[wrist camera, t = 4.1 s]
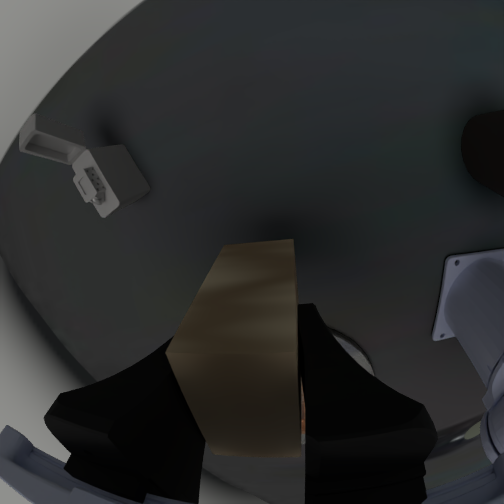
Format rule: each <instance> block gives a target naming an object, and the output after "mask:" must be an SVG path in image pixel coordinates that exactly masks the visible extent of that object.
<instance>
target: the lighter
mask: <svg viewBox="0 0 504 504" xmlns="http://www.w3.org/2000/svg"><path fill="white" fill-rule="evenodd" d="M19 149H20V151H21V152H25V153H28V154H32V155H36V156H40V157H43V158H47V159H51V160H54V161H58V162H61V163H65V164H68V165H70V164H73V166H72V167H73V169H74V171H75V173H76V176H75V177H74V178H73V181H74V183H75V185H76V186H77V188H78V190H79V192H80V193H81V195H82V197H83V198H84V200H85V202H86V203H87V202H89V201H90V202H92V203H93V204H94V206H95V207H96V209H97V211H98V212H99V214H100V216H101V217H103V218H105V217H107V216H109V215H111V214H113V213H115V212H117V211H119V210H120V209H122V208H124V207H126V206H128V205H130V204H132V203H134V202H136V201H138V200H139V199H140V198H141V197H143V196H144V195H145V194H147V193H148V192H149V191H150V186H149V185H148V183H147V181H146V180H145V178H144V177H143V175H142V173H141V172H140V170H139V169H138V167H137V165H136V164H135V162H134V160H133V159H132V157H131V155H130V154H129V152H128V150H127V149H126V147H125V145H122V144H121V145H113V146H106V147H99V148H92V149H86V147H85V140H84V134H83V131H80V130H78V129H75V128H72V127H70V126H67V125H65V124H62V123H60V122H57V121H54V120H52V119H49V118H46V117H44V116H41V115H38V114H33V115H31V116H30V118H29V119H28V121H27V122H26V124H25V125H24V126H23V128H22V129H21V131H20V140H19Z"/></svg>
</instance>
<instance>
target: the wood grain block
mask: <svg viewBox="0 0 504 504" xmlns="http://www.w3.org/2000/svg"><path fill="white" fill-rule="evenodd" d="M298 304H299V302H298V288H297V275H296V263H295V252H294V241H293V239H287V240H276V241H264V242H253V243H242V244H231V245H224V246H223V248H222V250H221V252H220V253H219V255H218V257H217V259H216V261H215V262H214V264H213V266H212V268H211V269H210V271H209V273H208V275H207V277H206V278H205V280H204V282H203V284H202V286H201V287H200V289H199V291H198V293H197V295H196V297H195V298H194V300H193V302H192V304H191V306H190V307H189V309H188V311H187V313H186V315H185V317H184V319H183V320H182V322H181V324H180V326H179V328H178V330H177V332H176V333H175V335H174V337H173V339H172V341H171V343H170V345H169V347H168V348H167V350H166V352H165V353H166V355H167V358H168V360H169V363H170V365H171V368H172V370H173V372H174V375H175V377H176V379H177V382H178V384H179V386H180V388H181V391H182V393H183V395H184V397H185V399H186V402H187V404H188V406H189V408H190V410H191V412H192V414H193V416H194V418H195V420H196V423H197V425H198V427H199V429H200V431H201V432H202V434H203V436H204V438H205V440H206V442H207V444H208V446H209V448H210V450H211V451H212V453H213V454H216V455H228V456H244V457H301V435H302V379H301V367H300V349H299V333H298V315H297V305H298Z"/></svg>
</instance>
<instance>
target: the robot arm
mask: <svg viewBox="0 0 504 504" xmlns="http://www.w3.org/2000/svg"><path fill="white" fill-rule="evenodd" d="M456 260H457V263H455V261H456ZM297 315H298V333H299V349H300V367H301V379H302V387H303V394H304V402H305V504H504V248H503V249H496V250H489V251H482V252H475V253H467V254H460V255H452V256H449V257H448V258H447V259H446V261H445V267H444V275H443V281H442V288H441V293H440V299H439V304H438V309H437V314H436V319H435V324H434V328H433V332H432V338H433V340H434V341H438V340H442V339H447V338H451V337H455V336H456V338H457V339H458V341H459V343H460V344H461V346H462V347H463V349H464V350H465V352H466V354H467V355H468V357H469V359H470V360H471V362H472V364H473V365H474V367H475V369H476V370H477V372H478V374H479V376H480V377H481V379H482V381H483V383H484V385H485V386H486V388H487V393H486V394H485V396H484V397H483V398H482V401H483V403H484V405H485V407H486V409H487V411H486V412H485V413H484V415H483V417H482V420H481V425H480V434H481V441H482V445H483V449H484V451H485V453H486V455H487V457H488V458H489V460H490V461H491V462H492V463H493V464H491V465H489V466H487V467H485V468H483V469H481V470H479V471H476V472H474V473H472V474H469V475H467V476H464V477H462V478H459V479H457V480H454V481H452V482H449V483H446V484H443V485H440V486H437V487H434V488H431V489H428V490H426V488H425V483H424V479H423V476H425V474H426V470H425V465H424V461H425V460H426V458H427V457H428V455H429V454H430V452H431V451H432V449H433V448H434V446H435V444H436V442H437V440H438V437H437V432H436V429H435V426H434V423H433V421H432V419H431V417H430V415H429V414H428V412H427V410H426V408H425V406H424V405H423V404H421V403H419V402H417V401H415V400H413V399H411V398H409V397H407V396H405V395H403V394H401V393H399V392H397V391H395V390H394V389H392V388H390V387H389V386H387V385H385V384H384V383H383V382H381V381H380V380H379V379H377V378H376V377H374V376H373V375H372V374H370V373H369V372H368V371H367V370H366V369H364V368H363V367H362V366H361V365H360V364H359V363H358V362H357V361H356V360H355V359H353V358H352V357H351V356H350V355H349V353H348V352H347V351H346V350H345V349H344V348H343V347H342V346H341V344H340V343H339V342H338V341H337V340H336V338H335V337H334V336H333V334H332V333H331V332H330V330H329V329H328V327H327V326H326V324H325V323H324V321H323V320H322V318H321V316H320V314H319V313H318V311H317V308H316V306H315V305H314V304H313V303H310V304H298V305H297ZM441 334H442V335H441ZM173 337H174V336H173ZM173 337H172V338H171V339H169V340H168V341H167V342H166V343H164V344H163V345H162V346H160V347H159V348H158V349H157V350H155V351H154V352H153V353H151V354H150V355H148V356H147V357H145V358H144V359H142V360H141V361H139V362H137V363H136V364H134V365H132V366H131V367H129V368H127V369H125V370H123V371H121V372H119V373H117V374H115V375H113V376H111V377H109V378H106V379H104V380H102V381H99V382H97V383H94V384H91V385H88V386H86V387H82V388H79V389H75V390H71V391H68V392H64V393H60V395H59V396H58V397H57V399H56V400H55V401H54V403H53V404H52V406H51V407H50V409H49V410H48V412H47V413H46V415H45V416H44V421H45V424H46V426H47V428H48V429H49V430H50V431H51V433H52V434H53V435H54V436H55V437H56V438H57V439H58V440H59V442H60V443H61V444H62V445H63V446H64V447H65V448H66V449H67V450H68V451H69V452H70V453H71V455H70V457H69V459H68V461H67V463H64V462H62V461H60V460H58V459H56V458H54V457H52V456H50V455H48V454H46V453H45V452H43V451H41V450H39V449H37V448H35V447H34V446H33V444H32V443H31V442H30V441H29V440H28V439H27V438H26V437H25V436H24V435H22V434H21V433H20V432H18V431H17V430H15V429H13V428H12V427H10V426H8V425H6V426H5V428H4V429H3V431H2V432H1V434H0V478H1V479H2V480H3V481H4V482H6V483H7V484H8V485H9V486H10V487H12V488H13V489H14V490H15V491H17V492H18V493H19V494H20V495H22V496H23V497H24V498H26V499H27V500H28V501H30V502H31V503H33V504H198V503H199V489H200V479H201V469H202V462H203V455H204V448H205V442H206V440H205V438H204V436H203V434H202V432H201V431H200V429H199V427H198V425H197V423H196V420H195V418H194V416H193V414H192V412H191V410H190V408H189V406H188V404H187V402H186V399H185V397H184V395H183V393H182V391H181V388H180V386H179V384H178V382H177V379H176V377H175V375H174V372H173V370H172V368H171V365H170V363H169V360H168V358H167V355H166V353H165V352H166V350H167V348H168V347H169V345H170V343H171V341H172V339H173Z"/></svg>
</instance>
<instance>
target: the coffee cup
mask: <svg viewBox="0 0 504 504" xmlns="http://www.w3.org/2000/svg"><path fill="white" fill-rule="evenodd" d="M461 150H462V156H463V161H464V163H465V166H466V168H467V170H468V172H469V173H470V174H471V176H472V177H473V178H474V179H475V180H477V181H478V182H480V183H481V184H483V185H485V186H486V187H488V188H490V189H491V190H493V191H495V192H496V193H498V194H499V195H501V196H503V197H504V110H501V111H496V112H491V113H486V114H481V115H477V116H475V117H473V118H472V119H470V120H469V121H468V123H467V125H466V126H465V128H464V131H463V135H462V144H461Z"/></svg>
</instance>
